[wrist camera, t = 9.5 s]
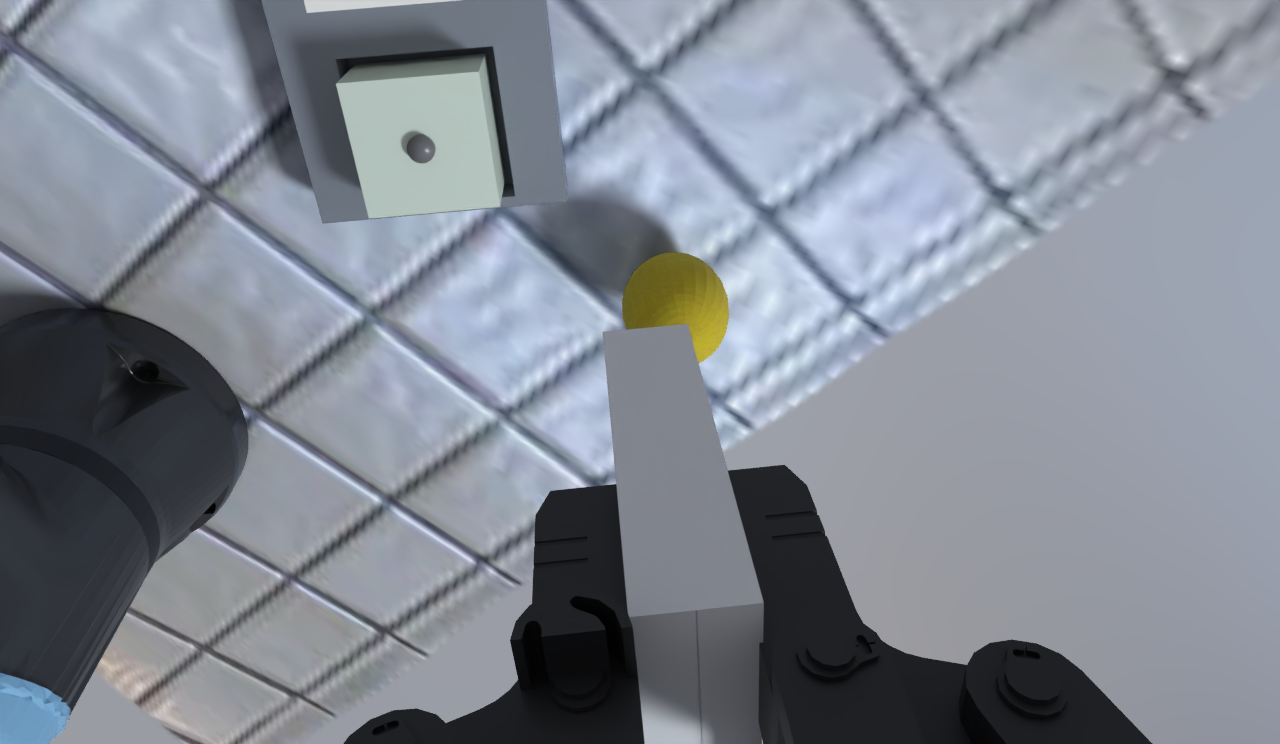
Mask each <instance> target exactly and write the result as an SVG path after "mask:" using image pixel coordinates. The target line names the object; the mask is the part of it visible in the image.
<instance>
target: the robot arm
mask: <svg viewBox="0 0 1280 744" xmlns="http://www.w3.org/2000/svg"><path fill="white" fill-rule="evenodd" d="M603 339H604V350H605V362H606V373H607V384H608V395H609V407H610V418H611V429H612V440H613V452H614V463H615V474H616V484H614V485H604V486H595V487H585V488H575V489H565V490H555V491H550V493H549V494H548V496H547V498H546V499H545V501H544V502H543V504H542V506H541V507H540V509H539V511H538V512H537V514H536V519H535V547H534V570H533V597H532V604H531V605H530V606H529V607H528V608H527V609H526V610H525V611H524V613H523V614H522V615H521V616H520V617H519V619H518V620H517V621H516V623H515V626H514V629H513V632H512V636H511V639H510V642H511V647H512V652H513V656H514V661H515V666H516V670H517V675H518V681H517V682H516V683H515V684H514V686H513V687H512V688H511V689H510V690H509V691H508V692H507V693H505V694H504V695H503V696H502V697H500V698H499V699H498V700H496V701H495V702H493V703H491V704H489V705H487V706H485V707H484V708H481V709H480V710H477V711H475V712H472V713H470V714H467V715H465V716H463V717H460V718H458V719H455V720H453V721H450V722H448V723H445V722H444V721H443V720H441V718H439V716H437V715H436V714H433V713H429V712H426V711H423V710H419V709H406V710H394V711H391V712H388V713H386V714H383V715H381V716H379V717H376V718H373V719H371V720H369V721H368V722H367V723H366V724H364V725H363V726H361V727H360V728H359V729H358V730H356V731H355V732H354V733H353V734H351V735H350V736H349V737H348V738H347V740H346V741H345V743H344V744H762V740H763V744H1152V743H1151V742H1150V741H1149V740H1148V739H1147V738H1146V737H1145V736H1144V735H1143V734H1142V733H1141V732H1140V731H1139V730H1138V729H1137V728H1136V726H1134V724H1133V723H1132V722H1131V721H1130V720H1129V719H1128V718H1127V717H1126V716H1125V715H1124V714H1123V713H1122V712H1121V711H1120V710H1119V709H1118V708H1117V707H1116V706H1115V705H1114V704H1113V703H1112V702H1111V700H1110V699H1109V698H1108V697H1107V696H1106V695H1105V694H1104V693H1103V692H1102V691H1101V690H1100V689H1099V688H1098V687H1097V686H1096V685H1095V684H1094V683H1093V682H1092V681H1091V680H1090V679H1089V678H1088V677H1087V676H1086V675H1085V674H1084V672H1083V671H1082V670H1080V669H1079V668H1078V667H1077V666H1075V665H1074V664H1073V663H1071V662H1070V661H1069V660H1068V659H1066V658H1065V657H1064V656H1062V655H1061V654H1059V653H1057V652H1055V651H1052V650H1050V649H1048V648H1045V647H1043V646H1041V645H1039V644H1036V643H1029V642H1023V641H1017V640H1007V641H1000V642H994V643H989V644H988V645H986V646H984V647H983V648H981V649H979V650H978V651H976V652H974V654H973V656H972V658H971V659H970V661H969V663H968V665H963V664H957V663H951V662H945V661H939V660H933V659H927V658H922V657H918V656H914V655H911V654H907V653H904V652H902V651H900V650H897V649H895V648H893V647H891V646H889V645H887V644H886V643H885V642H883V641H882V640H881V639H880V638H879V636H878V635H877V633H876V632H874V631H873V630H872V629H870V628H869V627H868V626H866V625H865V624H863V622H862V620H861V618H860V617H859V615H858V613H857V611H856V609H855V606H854V604H853V602H852V599H851V596H850V594H849V591H848V589H847V586H846V584H845V581H844V579H843V576H842V573H841V571H840V568H839V566H838V563H837V561H836V558H835V556H834V553H833V551H832V548H831V546H830V543H829V540H828V538H827V536H825V531H824V528H823V525H822V523H821V520H820V518H819V515H817V510H816V508H815V505H814V502H813V500H812V497H811V495H810V492H809V490H808V487H807V485H806V484H805V483H804V482H803V481H802V480H800V479H799V478H798V477H797V476H796V475H795V474H794V473H793V472H792V471H791V470H790V469H788V468H787V467H786V466H785V465H779V466H769V467H760V468H750V469H740V470H730V471H728V470H727V466H726V463H725V459H724V455H723V452H722V448H721V444H720V441H719V437H718V433H717V430H716V426H715V422H714V419H713V415H712V411H711V408H710V404H709V400H708V397H707V393H706V389H705V386H704V382H703V378H702V375H701V371H700V368H699V364H698V360H697V357H696V353H695V349H694V346H693V342H692V338H691V335H690V331H689V327H688V324H681V325H671V326H660V327H650V328H639V329H629V330H618V331H608V332H603ZM247 453H248V431H247V425H246V421H245V418H244V415H243V411H242V409H241V407H240V404H239V402H238V400H237V398H236V396H235V395H234V393H233V391H232V390H231V388H230V387H229V385H228V384H227V383H226V381H225V380H224V379H223V377H222V376H221V375H220V374H219V373H218V372H217V371H216V369H215V368H214V367H213V366H212V365H211V364H210V363H209V362H208V361H206V360H205V359H204V358H203V357H202V356H201V355H200V354H198V353H197V352H196V351H195V350H193V349H192V348H190V347H189V346H188V345H186V344H185V343H183V342H182V341H180V340H179V339H177V338H175V337H173V336H172V335H170V334H168V333H166V332H164V331H162V330H160V329H158V328H156V327H154V326H152V325H149V324H147V323H144V322H142V321H139V320H136V319H133V318H130V317H126V316H123V315H119V314H115V313H110V312H104V311H98V310H90V309H57V310H49V311H43V312H38V313H34V314H31V315H27V316H24V317H22V318H19V319H17V320H15V321H12V322H10V323H8V324H7V325H5V326H3V327H2V328H0V744H50V742H51V741H52V739H53V738H55V737H56V736H57V735H59V734H60V733H61V732H62V731H63V729H64V728H65V725H66V723H67V720H69V716H70V714H71V712H72V710H73V708H74V706H75V705H76V703H77V701H78V699H79V697H80V695H81V694H82V692H83V690H84V689H85V687H86V685H87V683H88V681H89V679H90V678H91V676H92V674H93V672H94V670H95V669H96V667H97V665H98V663H99V661H100V660H101V658H102V656H103V654H104V652H105V650H106V649H107V647H108V645H109V643H110V641H111V640H112V638H113V636H114V634H115V632H116V631H117V629H118V627H119V625H120V623H121V622H122V620H123V618H124V616H125V614H126V612H127V611H128V609H129V607H130V605H131V603H132V602H133V600H134V598H135V596H136V594H137V593H138V591H139V589H140V587H141V585H142V583H143V581H144V579H145V578H146V576H147V574H148V573H149V571H150V569H151V568H152V566H153V564H154V563H155V562H156V561H157V560H159V559H160V558H161V557H162V556H164V555H165V554H166V553H168V552H169V551H170V550H171V549H173V548H174V547H175V546H176V545H178V544H179V543H180V542H182V541H183V540H184V539H185V538H186V537H187V536H189V535H190V533H192V532H193V531H195V530H196V529H198V528H199V527H201V526H202V525H203V524H205V523H206V522H207V521H208V520H209V519H211V518H212V517H213V516H214V515H215V514H216V513H217V512H218V511H219V509H220V508H221V507H222V506H223V504H224V503H225V502H226V500H227V499H228V497H229V496H230V494H231V492H232V490H233V488H234V486H235V484H236V482H237V480H238V478H239V477H240V475H241V473H242V471H243V468H244V465H245V462H246V458H247Z"/></svg>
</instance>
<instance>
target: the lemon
mask: <svg viewBox="0 0 1280 744" xmlns="http://www.w3.org/2000/svg"><path fill="white" fill-rule="evenodd" d="M622 312H623V320H624V323H625V326H626V330H629V329H639V328H650V327H660V326H671V325H681V324H688V327H689V331H690V335H691V338H692V342H693V346H694V349H695V353H696V357H697V360H698V363H700V362H702V361H704V360H705V359H706V358H708V357H709V356H710V355H712V354H713V353H714V351H715V350H716V349H717V348H718V347H719V345H720V344H721V342H722V340H723V338H724V335H725V333H726V329H727V324H728V318H729V309H728V298H727V295H726V292H725V289H724V287H723V284H722V282H721V280H720V279H719V277H718V276H717V275H716V273H715V272H714V271H713V269H712V268H711V267H710V266H708V265H707V264H706V263H704V262H703V261H702V260H700V259H699V258H696V257H694V256H692V255H689V254H685V253H678V252H670V253H662V254H659V255H656V256H653V257H651V258H650V259H648V260H647V261H645V262H643V263H642V264H641V265H640V266H639V267H638V268H637V269H636V270H635V271H634V272H633V274H632V275H631V277H630V279H629V281H628V282H627V284H626V288H625V292H624V295H623V300H622Z"/></svg>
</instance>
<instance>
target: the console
mask: <svg viewBox="0 0 1280 744" xmlns="http://www.w3.org/2000/svg"><path fill="white" fill-rule="evenodd" d="M261 2H262V5H263V9H264V13H265V16H266V20H267V23H268V27H269V31H270V34H271V38H272V42H273V45H274V49H275V52H276V56H277V60H278V63H279V67H280V71H281V74H282V78H283V81H284V85H285V89H286V92H287V96H288V100H289V103H290V107H291V110H292V114H293V118H294V121H295V125H296V128H297V132H298V136H299V139H300V143H301V147H302V150H303V154H304V157H305V161H306V165H307V168H308V172H309V176H310V179H311V183H312V186H313V190H314V194H315V197H316V201H317V205H318V208H319V212H320V215H321V219H322V223H334V222H345V221H356V220H367V219H369V217H368V213H367V209H366V205H365V201H364V197H363V193H362V188H361V184H360V180H359V176H358V172H357V168H356V164H355V160H354V156H353V152H352V148H351V144H350V139H349V135H348V131H347V127H346V123H345V119H344V115H343V111H342V107H341V103H340V99H339V95H338V90H337V86H336V83H337V82H338V81H339V80H340V79H341V78H342V77H343V76H344V75H345V74H346V73H347V72H348V71H349V70H350V69H351V68H352V67H353V66H354V65H355V64H363V63H375V62H387V61H399V60H411V59H423V58H435V57H447V56H459V55H471V54H482V53H486V57H487V64H488V70H489V77H490V84H491V90H492V97H493V103H494V110H495V116H496V123H497V129H498V136H499V143H500V149H501V156H502V162H503V169H504V175H505V182H504V188H503V193H502V199H501V205H500V207H511V206H523V205H534V204H545V203H556V202H567V178H566V170H565V161H564V152H563V143H562V134H561V126H560V117H559V108H558V99H557V90H556V82H555V73H554V64H553V55H552V46H551V38H550V29H549V20H548V11H547V2H546V0H460V1H448V2H435V3H423V4H411V5H399V6H386V7H374V8H362V9H350V10H337V11H325V12H313V13H307V12H306V8H305V4H304V0H261ZM500 207H492V208H500ZM481 209H489V208H481ZM470 210H478V209H470ZM459 211H467V210H459ZM448 212H456V211H448ZM437 213H445V212H437ZM426 214H434V213H426ZM415 215H423V214H415ZM403 216H412V215H403ZM392 217H401V216H392ZM381 218H390V217H381ZM370 219H379V218H370Z"/></svg>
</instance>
